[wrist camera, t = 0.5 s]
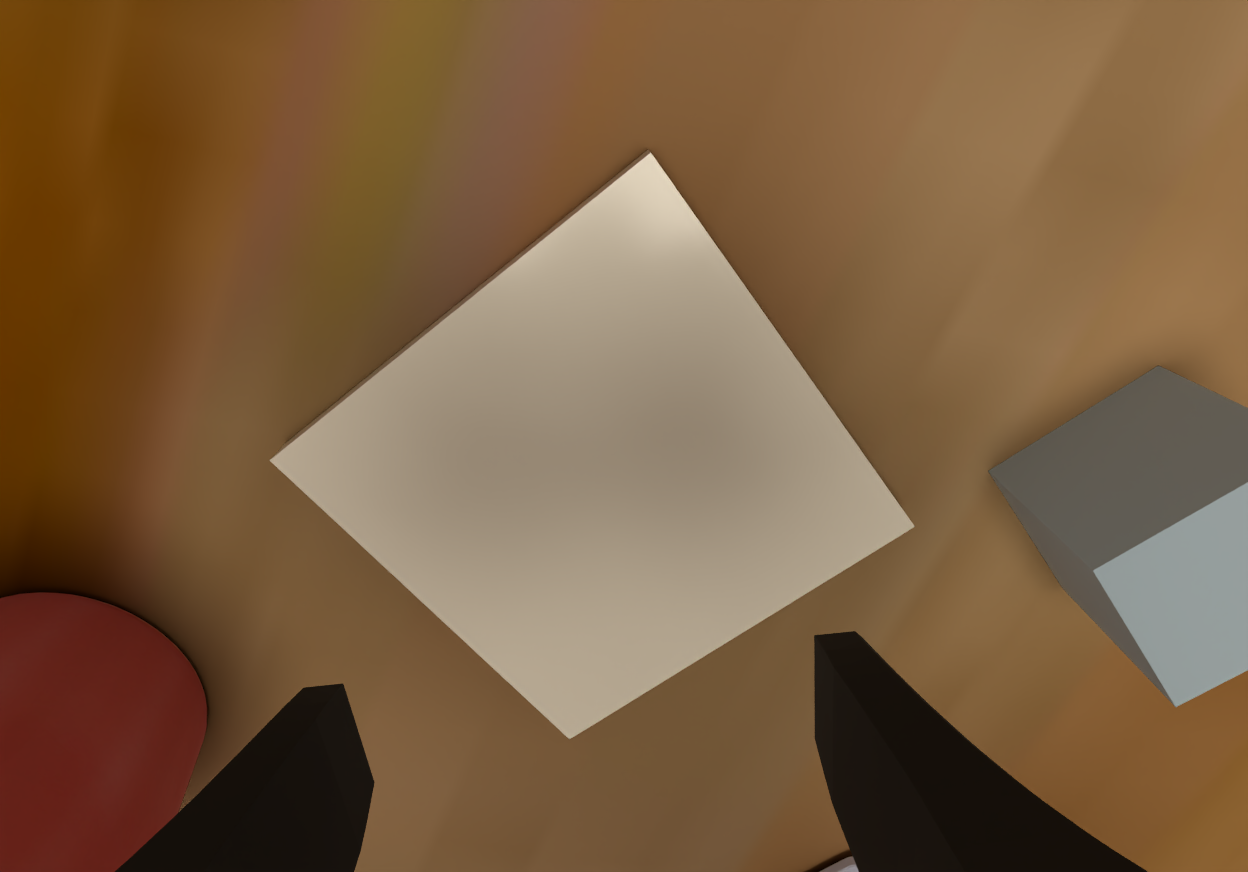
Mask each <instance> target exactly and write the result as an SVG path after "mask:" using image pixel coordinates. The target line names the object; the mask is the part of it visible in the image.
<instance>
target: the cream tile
mask: <svg viewBox="0 0 1248 872" xmlns="http://www.w3.org/2000/svg"><path fill="white" fill-rule="evenodd" d="M270 461H271V462H272V463H273V464H274V465H275V466H276V467H277V468H278V469H279V470H280V471H282V472H283V473H284V474H285V475H286V476H287V477H288V478H289V479H290V480H291V481H292V482H293V483H294V484H296V485H297V486H298V487H299V488H300V489H301V490H302V491H303V492H304V493H305V494H306V495H307V496H308V497H309V498H311V499H312V500H313V501H314V502H315V503H316V504H317V505H318V506H319V507H320V508H321V509H322V510H323V511H325V512H326V513H327V514H328V515H329V516H330V517H331V518H332V519H333V520H334V521H335V522H336V523H337V524H339V525H340V526H341V527H342V528H343V529H344V530H345V531H346V532H347V533H348V534H349V535H350V536H351V537H353V538H354V539H355V540H356V541H357V542H358V543H359V544H360V545H361V546H362V547H363V548H364V549H365V550H366V551H368V552H369V553H370V554H371V555H372V556H373V557H374V558H375V559H376V560H377V561H378V562H379V563H380V564H382V565H383V566H384V567H385V568H386V569H387V570H388V571H389V572H390V573H391V574H392V575H393V576H394V577H396V578H397V579H398V580H399V581H400V582H401V583H402V584H403V585H404V586H405V587H406V588H407V589H408V590H410V591H411V592H412V593H413V594H414V595H415V596H416V597H417V598H418V599H419V600H420V601H421V602H422V603H423V604H425V605H426V606H427V607H428V608H429V609H430V610H431V611H432V612H433V613H434V614H435V615H436V616H437V617H439V618H440V619H441V620H442V621H443V622H444V623H445V624H446V625H447V626H448V627H449V628H450V629H451V630H453V631H454V632H455V633H456V634H457V635H458V636H459V637H460V638H461V639H462V640H463V641H464V642H465V643H466V644H468V645H469V646H470V647H471V648H472V649H473V650H474V651H475V652H476V653H477V654H478V655H479V656H480V657H482V658H483V659H484V660H485V661H486V662H487V663H488V664H489V665H490V666H491V667H492V668H493V669H494V670H496V671H497V672H498V673H499V674H500V675H501V676H502V677H503V678H504V679H505V680H506V681H507V682H508V683H510V684H511V685H512V686H513V687H514V688H515V689H516V690H517V691H518V692H519V693H520V694H521V695H522V696H523V697H525V698H526V699H527V700H528V701H529V702H530V703H531V704H532V705H533V706H534V707H535V708H536V709H537V710H539V711H540V712H541V713H542V714H543V715H544V716H545V717H546V718H547V719H548V720H549V721H550V722H551V723H553V724H554V725H555V726H556V727H557V728H558V729H559V730H560V731H561V732H562V733H563V734H564V735H565V736H567V737H568V738H569V739H571V738H573V737H574V736H576V735H577V734H579V733H581V732H582V731H584V730H586V729H587V728H589V727H590V726H592V725H594V724H595V723H597V722H599V721H600V720H602V719H603V718H605V717H607V716H608V715H610V714H611V713H613V712H615V711H616V710H618V709H620V708H621V707H623V706H624V705H626V704H628V703H629V702H631V701H633V700H634V699H636V698H637V697H639V696H641V695H642V694H644V693H646V692H647V691H649V690H650V689H652V688H654V687H655V686H657V685H659V684H660V683H662V682H663V681H665V680H667V679H668V678H670V677H672V676H673V675H675V674H676V673H678V672H680V671H681V670H683V669H685V668H686V667H688V666H689V665H691V664H693V663H694V662H696V661H698V660H699V659H701V658H702V657H704V656H706V655H707V654H709V653H711V652H712V651H714V650H715V649H717V648H719V647H720V646H722V645H724V644H725V643H727V642H728V641H730V640H732V639H733V638H735V637H736V636H738V635H740V634H741V633H743V632H745V631H746V630H748V629H749V628H751V627H753V626H754V625H756V624H758V623H759V622H761V621H762V620H764V619H766V618H767V617H769V616H771V615H772V614H774V613H775V612H777V611H779V610H780V609H782V608H784V607H785V606H787V605H788V604H790V603H792V602H793V601H795V600H797V599H798V598H800V597H801V596H803V595H805V594H806V593H808V592H810V591H811V590H813V589H814V588H816V587H818V586H819V585H821V584H823V583H824V582H826V581H827V580H829V579H831V578H832V577H834V576H836V575H837V574H839V573H840V572H842V571H844V570H845V569H847V568H848V567H850V566H852V565H853V564H855V563H857V562H858V561H860V560H861V559H863V558H865V557H866V556H868V555H870V554H871V553H873V552H874V551H876V550H878V549H879V548H881V547H883V546H884V545H886V544H887V543H889V542H891V541H892V540H894V539H896V538H897V537H899V536H900V535H902V534H904V533H905V532H907V531H909V530H910V529H912V528H913V527H915V526H914V525H913V523H912V522H911V521H910V519H909V518H908V516H907V515H906V513H905V512H904V511H903V509H902V508H901V506H900V505H899V504H898V502H897V501H896V499H895V498H894V496H893V495H892V494H891V492H890V491H889V489H888V488H887V487H886V485H885V484H884V482H883V481H882V479H881V478H880V477H879V475H878V474H877V472H876V471H875V470H874V468H873V467H872V465H871V464H870V462H869V461H868V460H867V458H866V457H865V455H864V454H863V453H862V451H861V450H860V448H859V447H858V445H857V444H856V443H855V441H854V440H853V438H852V437H851V436H850V434H849V433H848V431H847V430H846V428H845V427H844V426H843V424H842V423H841V421H840V420H839V419H838V417H837V416H836V414H835V413H834V411H833V410H832V409H831V407H830V406H829V404H828V403H827V402H826V400H825V399H824V397H823V396H822V394H821V393H820V392H819V390H818V389H817V387H816V386H815V385H814V383H813V382H812V380H811V379H810V377H809V376H808V375H807V373H806V372H805V370H804V369H803V368H802V366H801V365H800V363H799V362H798V360H797V359H796V358H795V356H794V355H793V353H792V352H791V351H790V349H789V348H788V346H787V345H786V343H785V342H784V341H783V339H782V338H781V336H780V335H779V334H778V332H777V331H776V329H775V328H774V326H773V325H772V324H771V322H770V321H769V319H768V318H767V317H766V315H765V314H764V312H763V311H762V309H761V308H760V307H759V305H758V304H757V302H756V301H755V300H754V298H753V297H752V295H751V294H750V292H749V291H748V290H747V288H746V287H745V285H744V284H743V283H742V281H741V280H740V278H739V277H738V275H737V274H736V273H735V271H734V270H733V268H732V267H731V266H730V264H729V263H728V261H727V260H726V258H725V257H724V256H723V254H722V253H721V251H720V250H719V249H718V247H717V246H716V244H715V243H714V241H713V240H712V239H711V237H710V236H709V234H708V233H707V232H706V230H705V229H704V227H703V226H702V224H701V223H700V222H699V220H698V219H697V217H696V216H695V215H694V213H693V212H692V210H691V209H690V207H689V206H688V205H687V203H686V202H685V200H684V199H683V198H682V196H681V195H680V193H679V192H678V190H677V189H676V188H675V186H674V185H673V183H672V182H671V181H670V179H669V178H668V176H667V175H666V173H665V172H664V171H663V169H662V168H661V166H660V165H659V164H658V162H657V161H656V159H655V158H654V156H653V155H652V154H651V152H650V151H649V150H647V151H646V152H644V153H643V154H642V155H641V156H640V157H638V158H637V159H636V160H635V161H633V162H632V163H631V164H630V165H628V166H627V167H626V168H625V169H623V170H622V171H621V172H620V173H619V174H617V175H616V176H615V177H614V178H612V179H611V180H610V181H609V182H607V183H606V184H605V185H604V186H602V187H601V188H600V189H599V190H598V191H596V192H595V193H594V194H593V195H591V196H590V197H589V198H588V199H586V200H585V201H584V202H583V203H581V204H580V205H579V206H578V207H577V208H575V209H574V210H573V211H572V212H570V213H569V214H568V215H567V216H565V217H564V218H563V219H562V220H560V221H559V222H558V223H557V224H556V225H554V226H553V227H552V228H551V229H549V230H548V231H547V232H546V233H544V234H543V235H542V236H541V237H539V238H538V239H537V240H536V241H535V242H533V243H532V244H531V245H530V246H528V247H527V248H526V249H525V250H523V251H522V252H521V253H520V254H518V255H517V256H516V257H515V258H514V259H512V260H511V261H510V262H509V263H507V264H506V265H505V266H504V267H502V268H501V269H500V270H499V271H497V272H496V273H495V274H494V275H493V276H491V277H490V278H489V279H488V280H486V281H485V282H484V283H483V284H481V285H480V286H479V287H478V288H476V289H475V290H474V291H473V292H472V293H470V294H469V295H468V296H467V297H465V298H464V299H463V300H462V301H460V302H459V303H458V304H457V305H455V306H454V307H453V308H452V309H451V310H449V311H448V312H447V313H446V314H444V315H443V316H442V317H441V318H439V319H438V320H437V321H436V322H434V323H433V324H432V325H431V326H430V327H428V328H427V329H426V330H425V331H423V332H422V333H421V334H420V335H418V336H417V337H416V338H415V339H413V340H412V341H411V342H410V343H409V344H407V345H406V346H405V347H404V348H402V349H401V350H400V351H399V352H397V353H396V354H395V355H394V356H392V357H391V358H390V359H389V360H388V361H386V362H385V363H384V364H383V365H381V366H380V367H379V368H378V369H376V370H375V371H374V372H373V373H371V374H370V375H369V376H368V377H367V378H365V379H364V380H363V381H362V382H360V383H359V384H358V385H357V386H355V387H354V388H353V389H352V390H351V391H349V392H348V393H347V394H346V395H344V396H343V397H342V398H341V399H339V400H338V401H337V402H336V403H334V404H333V405H332V406H331V407H330V408H328V409H327V410H326V411H325V412H323V413H322V414H321V415H320V416H318V417H317V418H316V419H315V420H313V421H312V422H311V423H310V424H309V425H307V426H306V427H305V428H304V429H302V430H301V431H300V432H299V433H297V434H296V435H295V436H294V437H292V438H291V439H290V440H289V441H288V442H286V443H285V444H284V445H283V446H282V447H281V448H280V449H279V451H278V452H277V453H276V454H275V455H274V456H273V457H272V458H271V459H270Z"/></svg>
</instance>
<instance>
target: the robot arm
mask: <svg viewBox="0 0 1248 872" xmlns="http://www.w3.org/2000/svg"><path fill="white" fill-rule="evenodd" d="M814 642H815V741H816V744H817V748H818V752H819V756H820V760H821V763H822V767H823V771H824V775H825V779H826V782H827V786H828V789H829V793H830V797H831V800H832V804H833V806H834V809H835V812H836V814H837V817H838V820H839V822H840V825H841V827H842V830H843V832H844V835H845V838H846V840H847V843H848V845H849V848H850V851H851V853H852V856H851V857H847V858H845V859H843V860H841V861H839V862H837V863H835V864H833V865H831V866H829V867H827V868H825V869H824V870H822V871H820V872H1147V871H1146V870H1144V869H1143V868H1141V867H1139V866H1138V865H1136V864H1135V863H1133V862H1131V861H1130V860H1128V859H1127V858H1125V857H1123V856H1122V855H1120V854H1119V853H1117V852H1115V851H1114V850H1112V849H1111V848H1109V847H1108V846H1106V845H1105V844H1103V843H1102V842H1100V841H1099V840H1097V839H1096V838H1094V837H1093V836H1091V835H1090V834H1088V833H1087V832H1086V831H1084V830H1083V829H1081V828H1080V827H1078V826H1077V825H1076V824H1074V823H1073V822H1072V821H1070V820H1069V819H1067V818H1066V817H1065V816H1063V815H1062V814H1060V813H1059V812H1058V811H1056V810H1055V809H1053V808H1052V807H1051V806H1049V805H1048V804H1046V803H1045V802H1044V801H1042V800H1041V799H1040V798H1038V797H1037V796H1036V795H1035V794H1033V793H1032V792H1031V791H1029V790H1028V789H1027V788H1026V787H1024V786H1023V785H1022V784H1020V783H1019V782H1018V781H1017V780H1015V779H1014V778H1013V777H1012V776H1010V775H1009V774H1008V773H1007V772H1006V771H1004V770H1003V769H1002V768H1001V767H1000V766H998V765H997V764H996V763H995V762H993V761H992V760H991V759H990V758H989V757H987V756H986V755H985V754H984V753H983V752H981V751H980V750H979V749H978V748H977V747H976V746H975V745H973V744H972V743H971V742H970V741H969V740H968V739H966V738H965V737H964V736H963V735H962V734H961V733H960V732H959V731H958V730H956V729H955V728H954V727H953V726H952V725H951V724H950V723H949V722H948V721H947V720H946V719H944V718H943V717H942V716H941V715H940V714H939V713H938V712H937V711H936V710H935V709H933V708H932V707H931V706H930V705H929V704H928V703H927V702H926V701H925V700H924V699H923V698H922V697H921V696H920V695H919V694H918V693H917V692H916V691H915V690H914V689H913V688H912V687H910V686H909V685H908V684H907V683H906V682H905V681H904V680H903V679H902V678H901V677H900V676H899V675H898V674H897V673H896V672H895V671H894V670H893V669H892V668H891V667H890V666H889V665H888V664H887V663H886V662H885V660H884V659H883V658H882V657H881V656H880V655H879V654H878V653H877V652H876V651H875V650H874V649H873V648H872V647H871V646H870V645H869V644H868V643H867V642H866V641H865V640H864V639H863V638H862V637H861V636H860V635H859V634H858V633H856V632H855V631H853V632H843V633H833V634H823V635H814ZM373 787H374V780H373V777H372V773H371V770H370V767H369V764H368V761H367V758H366V754H365V751H364V748H363V745H362V742H361V739H360V735H359V732H358V729H357V726H356V723H355V720H354V716H353V713H352V710H351V707H350V704H349V701H348V697H347V694H346V691H345V688H344V685H343V684H335V685H325V686H316V687H306V688H303V689H302V690H301V691H300V692H299V693H298V694H297V695H296V696H295V697H294V698H293V699H292V700H291V701H290V702H288V703H287V704H286V705H285V706H284V708H283V709H282V710H281V711H280V712H279V713H278V714H277V715H276V716H275V717H274V718H273V719H272V720H271V721H270V722H269V723H268V724H267V725H266V726H265V727H264V728H263V729H262V730H261V731H260V732H259V733H258V734H257V735H256V736H255V737H254V738H253V739H252V740H251V741H250V742H249V743H248V744H247V745H246V746H245V747H244V748H243V750H242V751H241V752H240V753H239V754H238V755H237V756H236V757H235V758H234V759H233V760H232V761H231V762H230V763H229V764H228V765H227V766H226V767H225V768H224V769H223V770H222V771H221V772H220V773H219V774H218V775H217V776H216V777H215V778H214V779H213V780H212V781H211V782H210V783H209V784H208V785H207V786H206V787H205V788H204V789H203V790H202V791H201V792H200V793H199V794H198V795H197V796H196V797H195V798H194V799H193V800H192V801H190V802H189V803H188V804H187V805H186V806H185V807H184V808H183V809H182V810H181V811H180V812H179V813H178V814H177V815H175V816H174V817H173V818H172V819H171V820H170V821H169V822H168V823H167V824H166V825H165V826H164V827H163V828H162V829H160V830H159V831H158V832H157V833H156V834H155V835H154V836H153V837H152V838H151V839H150V840H149V841H148V842H147V843H146V844H144V845H143V846H142V847H141V848H140V849H139V850H138V851H137V852H136V853H135V854H134V855H133V856H132V857H131V858H129V859H128V860H127V861H126V862H125V863H124V864H123V865H121V866H120V867H119V868H118V869H117V870H116V871H115V872H354V870H355V867H356V864H357V860H358V857H359V854H360V851H361V846H362V842H363V837H364V833H365V828H366V823H367V819H368V813H369V808H370V803H371V798H372V792H373Z"/></svg>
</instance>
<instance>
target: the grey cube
mask: <svg viewBox="0 0 1248 872" xmlns="http://www.w3.org/2000/svg"><path fill="white" fill-rule="evenodd" d="M988 472H989V473H990V475H991V476H992V478H993V479H994V481H995V483H996V484H997V486H998V487H999V489H1000V491H1001V492H1002V494H1003V495H1004V497H1005V498H1006V500H1007V502H1008V503H1009V505H1010V506H1011V508H1012V509H1013V511H1014V513H1015V514H1016V516H1017V517H1018V519H1019V520H1020V522H1021V524H1022V525H1023V527H1024V528H1025V530H1026V531H1027V533H1028V535H1029V536H1030V538H1031V539H1032V541H1033V542H1034V544H1035V546H1036V547H1037V549H1038V550H1039V552H1040V553H1041V555H1042V557H1043V558H1044V560H1045V561H1046V563H1047V565H1048V566H1049V568H1050V569H1051V571H1052V572H1053V574H1054V576H1055V577H1056V579H1057V580H1058V582H1059V583H1060V585H1061V587H1062V588H1063V589H1064V590H1065V591H1066V592H1067V593H1068V595H1069V596H1070V597H1071V598H1072V599H1073V600H1074V601H1075V602H1076V603H1077V604H1078V605H1079V606H1080V607H1081V608H1082V609H1083V610H1084V611H1085V612H1086V613H1087V614H1088V616H1089V617H1090V618H1091V619H1092V620H1093V621H1094V622H1095V623H1096V624H1097V625H1098V626H1099V627H1100V628H1101V629H1102V630H1103V631H1104V632H1105V633H1106V634H1107V635H1108V637H1109V638H1110V639H1111V640H1112V641H1113V642H1114V643H1115V644H1116V645H1117V646H1118V647H1119V648H1120V649H1121V650H1122V651H1123V652H1124V653H1125V654H1126V655H1127V656H1128V658H1129V659H1130V660H1131V661H1132V662H1133V663H1134V664H1135V665H1136V666H1137V667H1138V668H1139V669H1140V670H1141V671H1142V672H1143V673H1144V674H1145V675H1146V676H1147V677H1148V679H1149V680H1150V681H1151V682H1152V683H1153V684H1154V685H1155V686H1156V687H1157V688H1158V689H1159V690H1160V691H1161V692H1162V693H1163V694H1164V695H1165V696H1166V697H1167V698H1168V700H1169V701H1170V702H1171V703H1172V704H1173V705H1174V706H1175V707H1177V706H1179V705H1181V704H1183V703H1185V702H1187V701H1189V700H1191V699H1193V698H1195V697H1196V696H1198V695H1200V694H1202V693H1204V692H1206V691H1208V690H1210V689H1212V688H1214V687H1216V686H1218V685H1220V684H1222V683H1224V682H1226V681H1228V680H1229V679H1231V678H1233V677H1235V676H1237V675H1239V674H1241V673H1243V672H1245V671H1247V670H1248V408H1246V407H1244V406H1242V405H1240V404H1238V403H1236V402H1234V401H1232V400H1230V399H1228V398H1226V397H1223V396H1221V395H1219V394H1217V393H1215V392H1213V391H1211V390H1209V389H1207V388H1205V387H1202V386H1200V385H1198V384H1196V383H1194V382H1192V381H1190V380H1188V379H1186V378H1184V377H1181V376H1179V375H1177V374H1175V373H1173V372H1171V371H1169V370H1167V369H1165V368H1163V367H1160V366H1157V367H1155V368H1154V369H1152V370H1150V371H1149V372H1147V373H1146V374H1144V375H1142V376H1141V377H1139V378H1138V379H1136V380H1134V381H1133V382H1131V383H1129V384H1128V385H1126V386H1125V387H1123V388H1121V389H1120V390H1118V391H1117V392H1115V393H1113V394H1112V395H1110V396H1108V397H1107V398H1105V399H1104V400H1102V401H1100V402H1099V403H1097V404H1096V405H1094V406H1092V407H1091V408H1089V409H1087V410H1086V411H1084V412H1083V413H1081V414H1079V415H1078V416H1076V417H1075V418H1073V419H1071V420H1070V421H1068V422H1066V423H1065V424H1063V425H1062V426H1060V427H1058V428H1057V429H1055V430H1053V431H1052V432H1050V433H1049V434H1047V435H1045V436H1044V437H1042V438H1041V439H1039V440H1037V441H1036V442H1034V443H1032V444H1031V445H1029V446H1028V447H1026V448H1024V449H1023V450H1021V451H1020V452H1018V453H1016V454H1015V455H1013V456H1011V457H1010V458H1008V459H1007V460H1005V461H1003V462H1002V463H1000V464H999V465H997V466H995V467H994V468H992V469H990V470H989V471H988Z"/></svg>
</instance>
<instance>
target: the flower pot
mask: <svg viewBox="0 0 1248 872" xmlns="http://www.w3.org/2000/svg"><path fill="white" fill-rule="evenodd" d="M206 728H207V705H206V698H205V693H204V690H203V687H202V684H201V682H200V679H199V677H198V675H197V673H196V671H195V670H194V668H193V667H192V665H191V663H190V662H189V660H188V659H187V658H186V657H185V655H184V654H183V653H182V652H181V651H180V650H179V648H178V647H177V646H176V645H175V644H174V643H173V642H171V641H170V640H169V639H168V638H167V637H166V636H165V635H164V634H162V633H161V632H160V631H158V630H157V629H156V628H154V627H153V626H151V625H150V624H148V623H147V622H145V621H143V620H142V619H140V618H138V617H136V616H135V615H133V614H131V613H129V612H127V611H125V610H122V609H120V608H118V607H116V606H113V605H111V604H108V603H105V602H101V601H98V600H95V599H91V598H87V597H83V596H77V595H72V594H64V593H45V592H40V593H24V594H17V595H12V596H7V597H3V598H0V872H115V871H116V870H117V869H118V868H119V867H120V866H121V865H123V864H124V863H125V862H126V861H127V860H128V859H129V858H131V857H132V856H133V855H134V854H135V853H136V852H137V851H138V850H139V849H140V848H141V847H142V846H143V845H144V844H146V843H147V842H148V841H149V840H150V839H151V838H152V837H153V836H154V835H155V834H156V833H157V832H158V831H159V830H160V829H162V828H163V827H164V826H165V825H166V824H167V823H168V822H169V821H170V820H171V819H172V818H173V817H174V816H175V815H177V814H178V812H179V809H180V806H181V803H182V800H183V798H184V795H185V792H186V789H187V786H188V783H189V780H190V778H191V775H192V772H193V769H194V766H195V763H196V760H197V758H198V755H199V752H200V749H201V746H202V743H203V740H204V736H205V732H206Z"/></svg>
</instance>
